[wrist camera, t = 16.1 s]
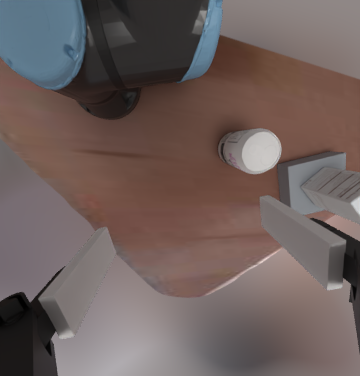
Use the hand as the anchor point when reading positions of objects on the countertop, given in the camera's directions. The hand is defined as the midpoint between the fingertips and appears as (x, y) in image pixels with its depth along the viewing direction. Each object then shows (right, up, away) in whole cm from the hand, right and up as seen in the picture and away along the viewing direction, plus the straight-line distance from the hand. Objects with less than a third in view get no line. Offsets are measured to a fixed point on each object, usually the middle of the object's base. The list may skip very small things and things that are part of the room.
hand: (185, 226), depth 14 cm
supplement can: (+13, +13, +30) cm, 35 cm away
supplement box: (+35, +4, +29) cm, 45 cm away
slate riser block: (+34, +5, +33) cm, 48 cm away
